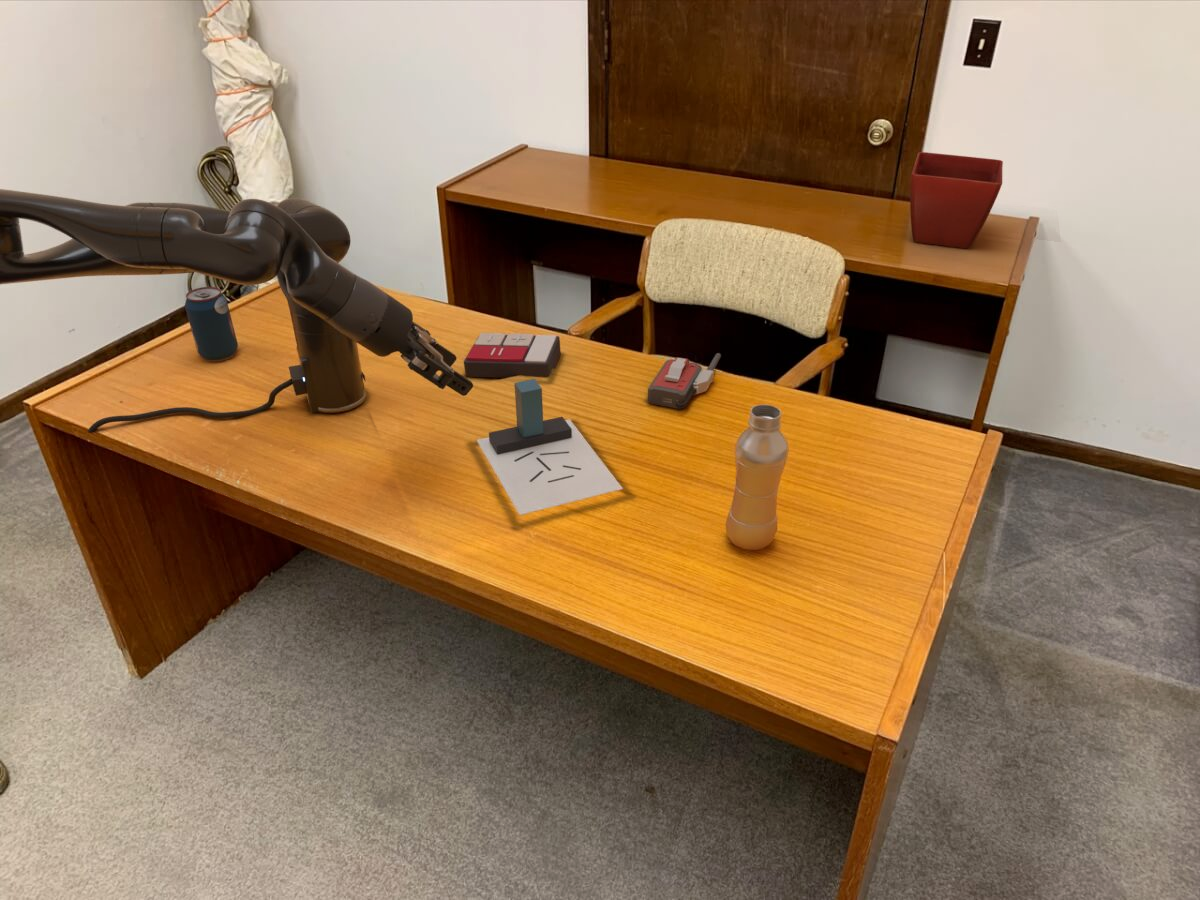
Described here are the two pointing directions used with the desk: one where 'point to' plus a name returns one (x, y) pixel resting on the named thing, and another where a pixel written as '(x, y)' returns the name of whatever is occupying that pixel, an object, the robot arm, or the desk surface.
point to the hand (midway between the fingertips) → (460, 376)
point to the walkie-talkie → (680, 382)
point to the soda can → (211, 323)
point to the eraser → (529, 422)
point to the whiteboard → (550, 473)
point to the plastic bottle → (757, 479)
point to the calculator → (512, 355)
